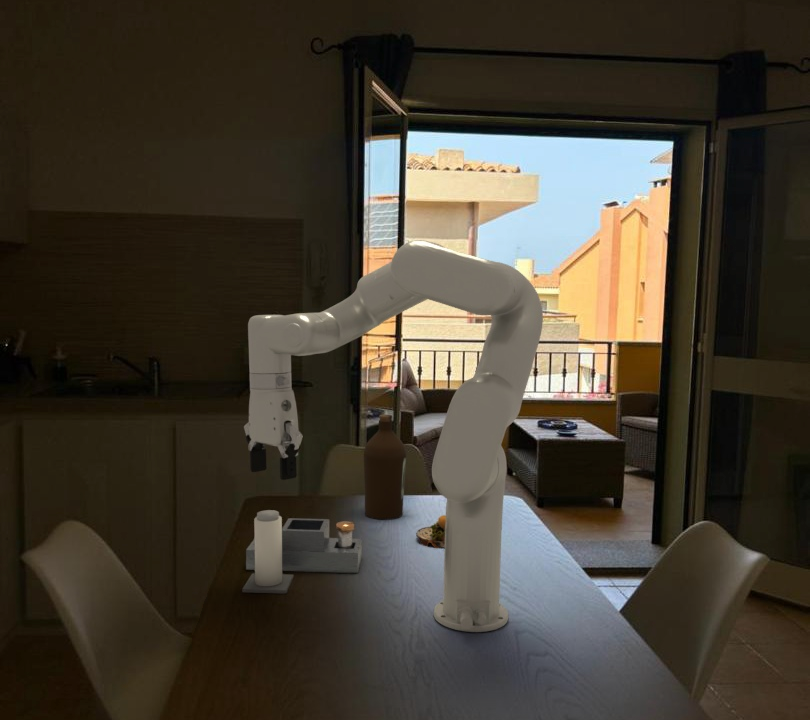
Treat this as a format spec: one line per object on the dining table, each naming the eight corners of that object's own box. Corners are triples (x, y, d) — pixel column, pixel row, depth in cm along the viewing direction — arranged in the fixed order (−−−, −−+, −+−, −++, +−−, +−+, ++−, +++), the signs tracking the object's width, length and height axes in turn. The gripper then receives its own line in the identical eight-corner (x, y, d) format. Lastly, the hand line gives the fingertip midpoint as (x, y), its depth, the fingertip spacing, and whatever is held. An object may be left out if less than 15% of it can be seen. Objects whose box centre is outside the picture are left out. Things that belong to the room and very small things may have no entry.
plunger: (352, 566, 153) (353, 526, 152) (334, 565, 153) (335, 526, 153) (354, 559, 157) (355, 521, 156) (336, 559, 157) (337, 521, 156)
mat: (286, 593, 139) (286, 590, 139) (242, 592, 139) (242, 589, 139) (293, 577, 147) (293, 574, 147) (252, 576, 147) (252, 573, 147)
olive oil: (366, 521, 185) (368, 419, 183) (359, 509, 196) (360, 412, 194) (409, 519, 188) (411, 418, 186) (399, 507, 198) (401, 411, 196)
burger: (448, 530, 181) (449, 499, 180) (478, 544, 171) (479, 511, 170) (405, 537, 174) (405, 505, 174) (434, 552, 164) (435, 518, 164)
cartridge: (287, 581, 143) (287, 513, 142) (265, 588, 140) (264, 518, 139) (271, 574, 147) (271, 507, 146) (249, 581, 143) (248, 513, 142)
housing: (361, 557, 159) (362, 519, 159) (357, 573, 150) (358, 533, 150) (256, 554, 160) (256, 516, 159) (246, 569, 151) (246, 529, 150)
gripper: (315, 383, 137) (318, 478, 138) (262, 378, 149) (264, 465, 150) (280, 386, 131) (283, 485, 133) (227, 381, 144) (230, 471, 145)
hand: (273, 474), depth 141 cm, fingers open, 9 cm apart
